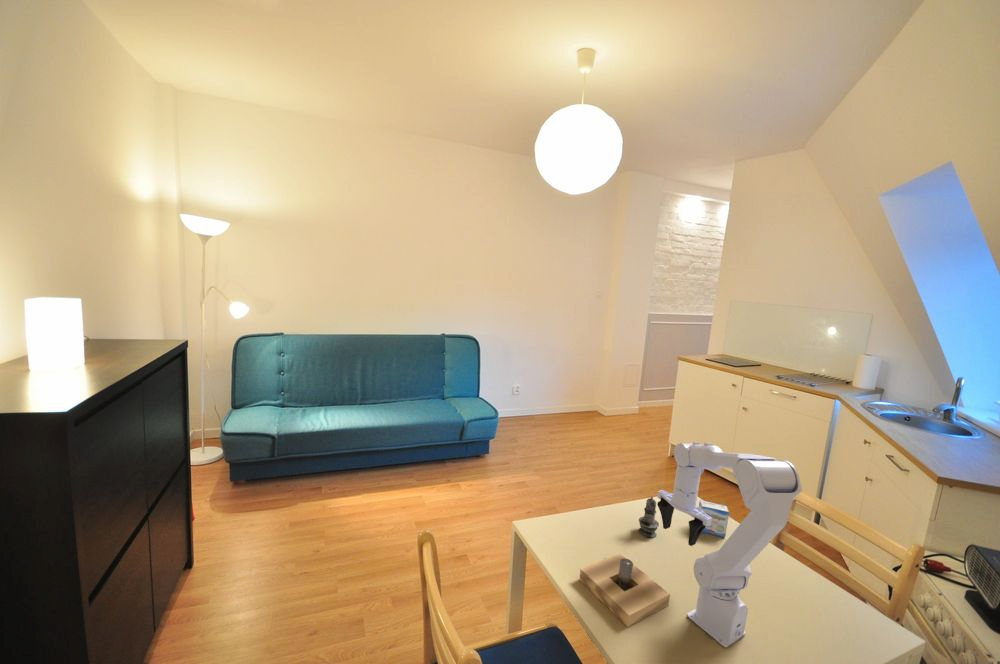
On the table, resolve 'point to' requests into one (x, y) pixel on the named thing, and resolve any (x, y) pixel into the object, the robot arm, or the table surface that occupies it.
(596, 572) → the oak hole block
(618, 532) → the table surface
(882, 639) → the table surface
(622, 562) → the metal peg
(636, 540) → the table surface
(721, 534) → the medicine box
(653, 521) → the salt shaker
